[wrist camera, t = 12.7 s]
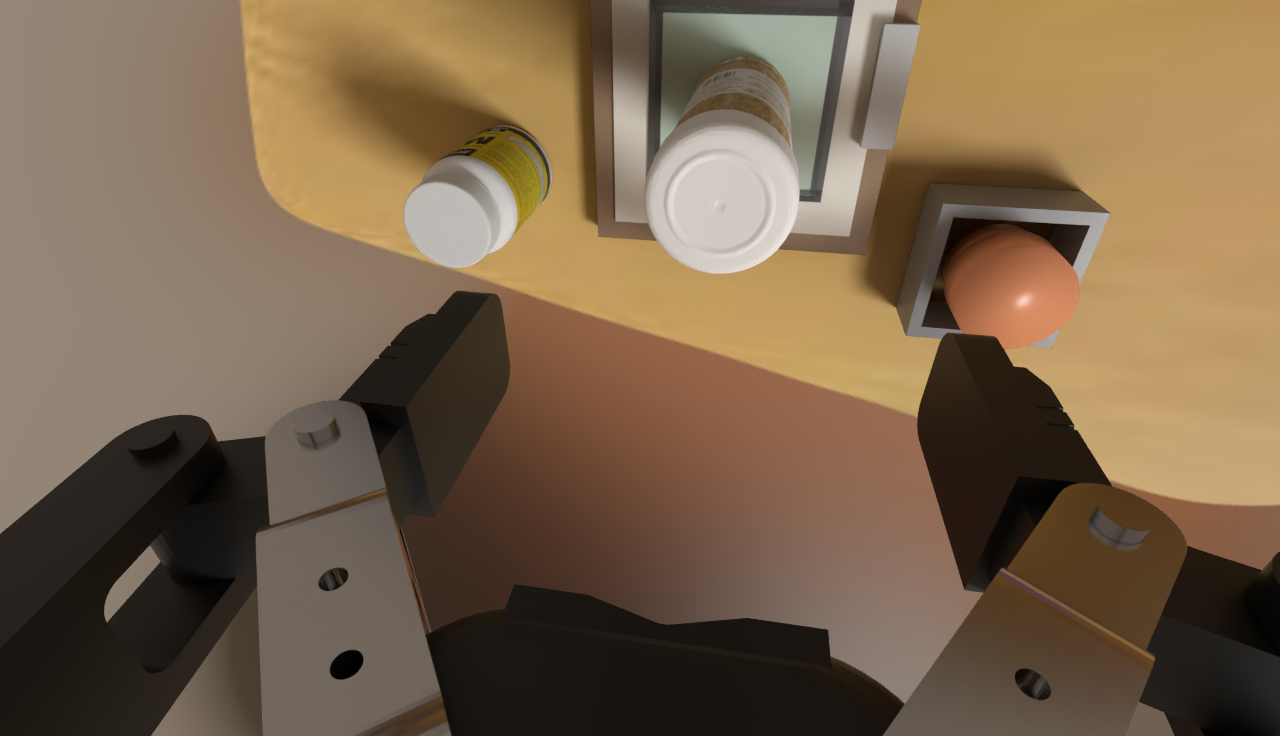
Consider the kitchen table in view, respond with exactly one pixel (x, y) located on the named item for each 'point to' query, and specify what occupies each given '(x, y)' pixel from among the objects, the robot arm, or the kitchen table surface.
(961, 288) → the button
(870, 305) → the kitchen table surface
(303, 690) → the robot arm
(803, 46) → the colouring board
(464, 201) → the supplement bottle
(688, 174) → the spice bottle
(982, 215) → the button collar
